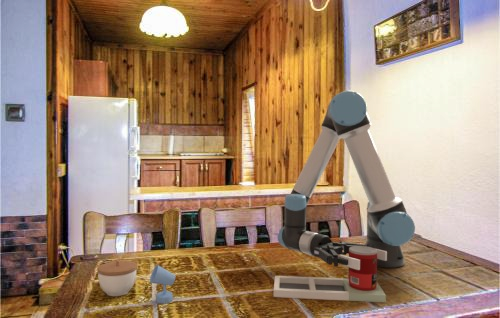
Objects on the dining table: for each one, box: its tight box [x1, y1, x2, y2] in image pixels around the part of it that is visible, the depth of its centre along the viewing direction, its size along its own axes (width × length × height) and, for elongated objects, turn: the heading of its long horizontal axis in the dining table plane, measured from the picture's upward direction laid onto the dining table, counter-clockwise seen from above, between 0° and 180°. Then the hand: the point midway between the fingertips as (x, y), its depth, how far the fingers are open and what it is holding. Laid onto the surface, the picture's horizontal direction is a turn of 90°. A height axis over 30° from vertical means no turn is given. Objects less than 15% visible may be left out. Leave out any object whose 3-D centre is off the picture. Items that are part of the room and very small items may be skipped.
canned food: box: [348, 246, 378, 291], centre depth 108 cm, size 8×8×11 cm
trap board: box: [273, 275, 387, 303], centre depth 109 cm, size 31×12×2 cm, turn 84°
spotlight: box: [149, 264, 176, 304], centre depth 102 cm, size 5×10×7 cm
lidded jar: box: [97, 259, 138, 297], centre depth 108 cm, size 11×11×9 cm
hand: (373, 260), depth 105 cm, fingers open, 13 cm apart
